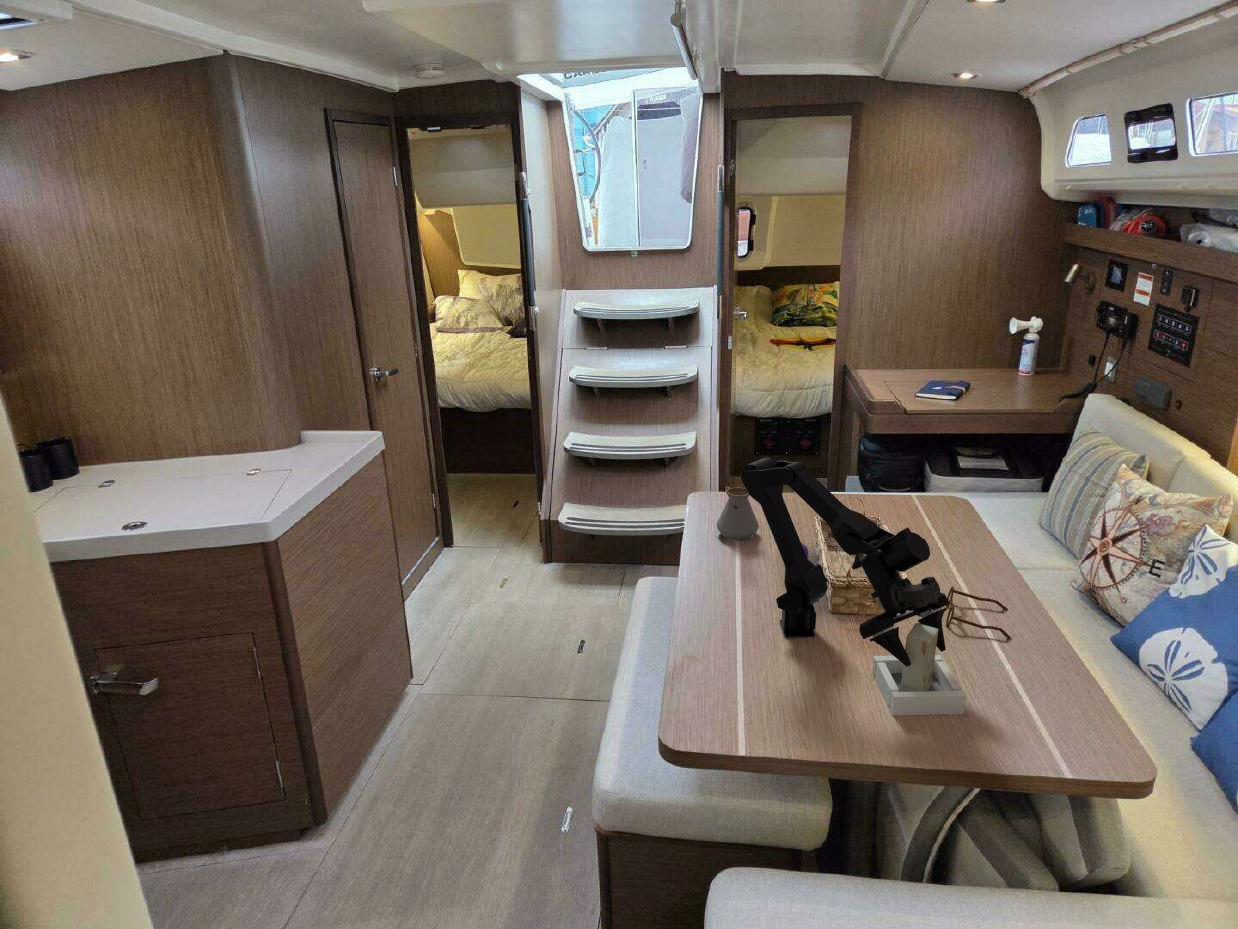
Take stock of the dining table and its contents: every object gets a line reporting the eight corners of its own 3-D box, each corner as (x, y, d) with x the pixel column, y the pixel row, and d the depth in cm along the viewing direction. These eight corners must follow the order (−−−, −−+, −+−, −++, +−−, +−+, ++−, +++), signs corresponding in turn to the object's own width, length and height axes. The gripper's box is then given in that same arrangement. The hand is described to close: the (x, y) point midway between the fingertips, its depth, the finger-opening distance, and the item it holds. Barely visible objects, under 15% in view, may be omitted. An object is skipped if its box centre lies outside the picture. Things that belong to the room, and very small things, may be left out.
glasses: (945, 601, 185) (948, 582, 183) (1007, 611, 180) (1010, 591, 179) (945, 631, 173) (948, 611, 171) (1012, 641, 169) (1015, 621, 167)
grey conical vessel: (718, 524, 226) (719, 475, 221) (759, 527, 224) (761, 477, 219) (710, 558, 207) (711, 505, 202) (755, 562, 205) (757, 508, 199)
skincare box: (922, 700, 149) (929, 644, 144) (899, 692, 151) (905, 636, 147) (932, 683, 154) (939, 628, 149) (909, 675, 156) (915, 621, 152)
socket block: (892, 715, 147) (894, 697, 145) (871, 673, 159) (873, 656, 157) (963, 714, 146) (966, 696, 145) (937, 672, 159) (940, 655, 157)
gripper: (876, 579, 143) (919, 662, 138) (947, 554, 151) (990, 631, 146) (841, 599, 152) (880, 678, 147) (910, 574, 160) (949, 647, 155)
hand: (926, 658), depth 148 cm, fingers open, 9 cm apart
